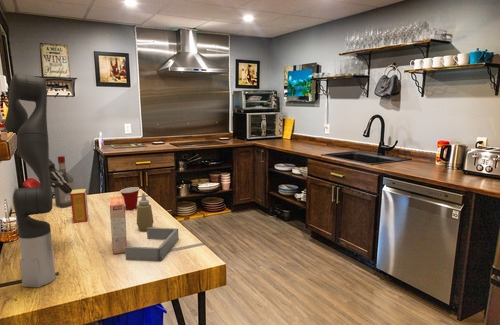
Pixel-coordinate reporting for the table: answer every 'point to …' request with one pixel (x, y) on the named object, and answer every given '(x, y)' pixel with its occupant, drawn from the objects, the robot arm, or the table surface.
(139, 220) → the squeeze bottle
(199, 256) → the table surface
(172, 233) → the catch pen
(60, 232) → the table surface
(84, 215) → the baking soda box
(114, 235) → the cracker box
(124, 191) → the plastic cup
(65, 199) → the liquor
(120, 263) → the table surface
